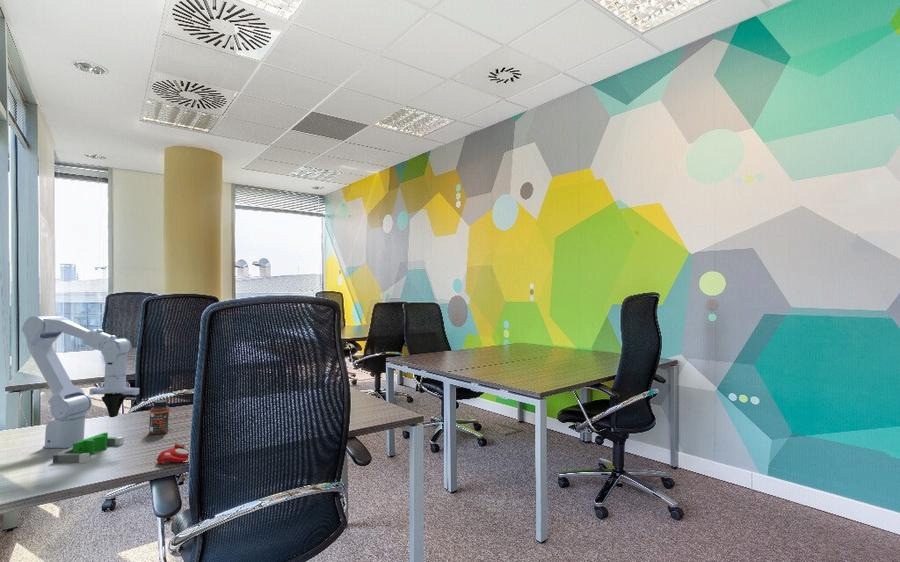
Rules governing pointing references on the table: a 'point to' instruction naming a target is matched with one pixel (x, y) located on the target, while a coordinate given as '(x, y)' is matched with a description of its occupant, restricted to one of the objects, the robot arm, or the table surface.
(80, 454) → the keeper bracket
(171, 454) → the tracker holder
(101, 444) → the green block
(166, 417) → the supplement bottle
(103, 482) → the table surface
